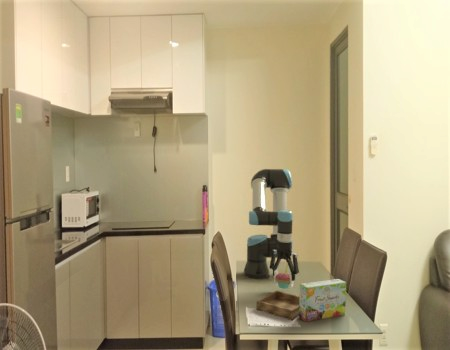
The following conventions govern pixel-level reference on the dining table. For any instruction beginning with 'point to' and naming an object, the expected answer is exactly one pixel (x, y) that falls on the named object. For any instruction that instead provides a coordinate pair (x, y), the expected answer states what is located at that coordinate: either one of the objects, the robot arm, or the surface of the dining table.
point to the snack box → (322, 299)
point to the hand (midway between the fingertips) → (283, 284)
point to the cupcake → (283, 279)
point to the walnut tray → (280, 305)
